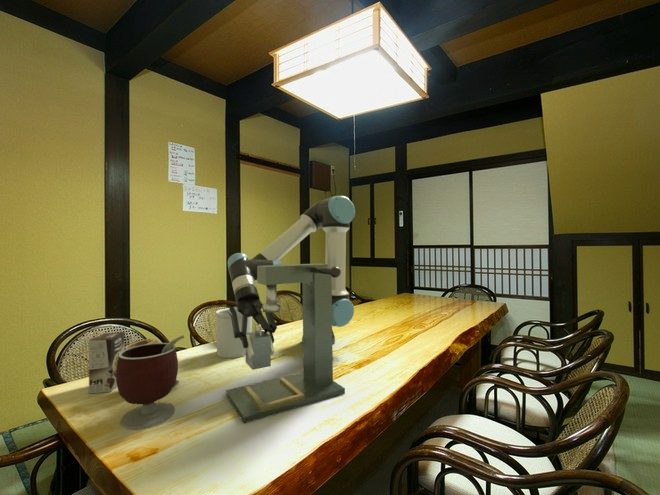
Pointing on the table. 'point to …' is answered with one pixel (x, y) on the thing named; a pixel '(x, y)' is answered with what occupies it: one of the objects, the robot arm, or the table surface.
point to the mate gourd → (147, 382)
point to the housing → (259, 349)
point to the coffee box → (104, 361)
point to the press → (316, 345)
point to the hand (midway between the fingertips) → (262, 354)
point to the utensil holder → (229, 335)
